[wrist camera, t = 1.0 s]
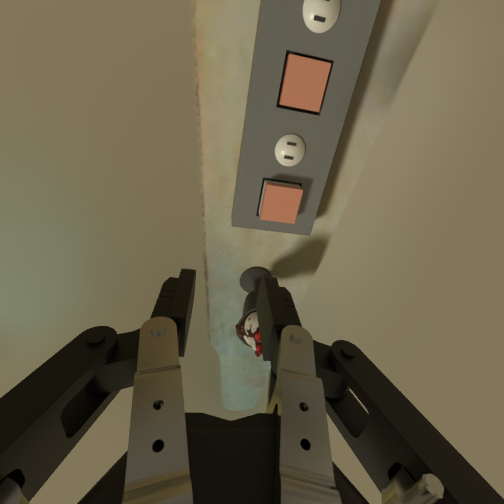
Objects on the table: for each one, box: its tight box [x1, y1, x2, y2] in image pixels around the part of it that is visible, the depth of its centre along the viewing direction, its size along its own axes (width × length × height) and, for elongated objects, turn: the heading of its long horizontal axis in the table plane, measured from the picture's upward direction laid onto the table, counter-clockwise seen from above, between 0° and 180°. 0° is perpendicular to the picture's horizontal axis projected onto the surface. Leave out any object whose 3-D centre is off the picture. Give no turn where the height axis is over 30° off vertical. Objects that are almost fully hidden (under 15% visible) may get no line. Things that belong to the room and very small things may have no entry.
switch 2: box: [277, 54, 331, 112], centre depth 25 cm, size 4×4×2 cm
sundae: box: [236, 267, 271, 357], centre depth 33 cm, size 7×7×15 cm
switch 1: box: [258, 179, 303, 224], centre depth 29 cm, size 4×4×2 cm
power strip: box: [231, 0, 381, 236], centre depth 28 cm, size 24×10×4 cm, turn 170°
